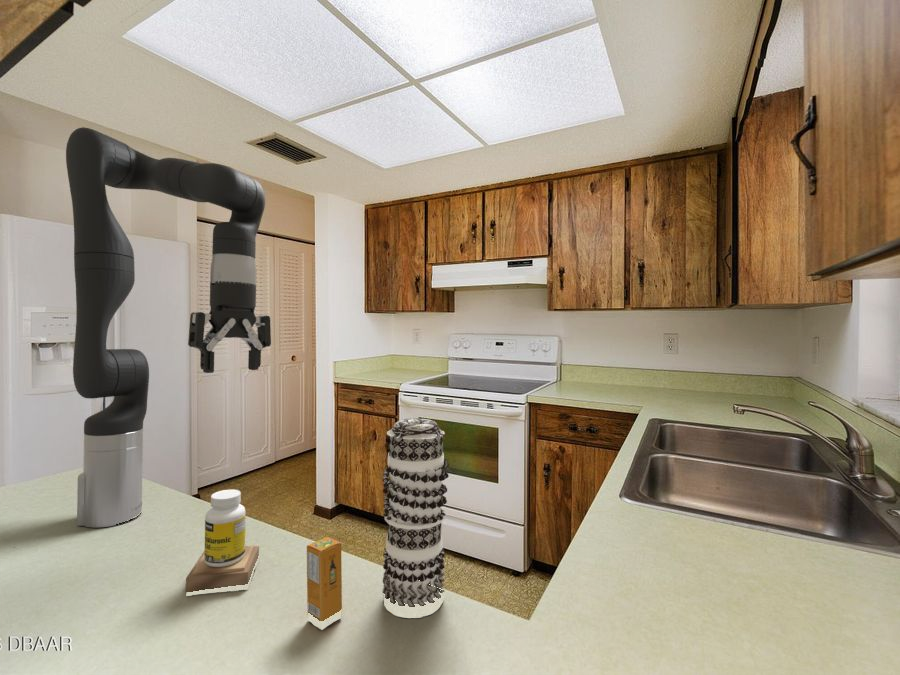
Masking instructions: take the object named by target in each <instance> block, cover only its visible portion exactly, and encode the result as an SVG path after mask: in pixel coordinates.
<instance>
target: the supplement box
mask: <svg viewBox="0 0 900 675" xmlns="http://www.w3.org/2000/svg"><path fill="white" fill-rule="evenodd" d="M342 570H343V568H342V542H340V541H338V540H336V539H333V538H330V537H328V536H325V537H324V538H321V539H318V540H316V541H314V542H312V543H310V544H307V545H306V590H307V592H306V594H307V596H306V597H307V599H306V600H307V603H306V604H307V614H308V613H310V614H311V615H313V617H315V618H317V619H318V620H319V621H324V620H325V619H327V618H329V617H330V616H332V615H334V614H335V613H337V612H339V611H340V610H341V609H342V610H343V604H342V603H343V599H342V598H343V594H342V588H343V586H342V585H343V584H342V583H343V581H342V580H343V579H342V577H343V576H342Z"/></svg>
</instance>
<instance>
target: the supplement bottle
mask: <svg viewBox="0 0 900 675" xmlns="http://www.w3.org/2000/svg"><path fill="white" fill-rule="evenodd" d="M241 500H242V494H241V491H240V490H239V489H224V490H219V491H217V492H214V493H212V494H211V496H210V506H211V507H210V509H208V511H207V512H206V513H205V515H204V516H205V517H204V518H205V519H204V551H205V563H206V564H207V565H208V566H212V567H224V566H229V565H232V564H234V563H236V562H238V561H239V560H241V559H242V558H243V556H244V554H245V546H246V515H247V514H246V507H245V506H244V505H242V504H241Z"/></svg>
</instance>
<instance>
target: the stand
mask: <svg viewBox="0 0 900 675" xmlns="http://www.w3.org/2000/svg"><path fill="white" fill-rule="evenodd" d="M258 556H259V557H260V545H245V554H244V556H243V558H242V559H241V560H239V561H238V562H236V563H234V564H232V565H229V566H224V567H212V566H208V565H207V564H206V563H205V550H203V552H202V553H201V555H200V557H199V558H198V560H197V561H196V562H195V563H194V566H193V567H192V569H191V570H190V572H188V574H187V576H186V577H185V593H186V592H193V591H199V590H205V589H214V588H221V587H228V586H236V585H245V584H248V582H249V580H250V577H251V574H252V571H253V568H254V566H255V563H256V561H257V559H258Z"/></svg>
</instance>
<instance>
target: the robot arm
mask: <svg viewBox="0 0 900 675" xmlns="http://www.w3.org/2000/svg"><path fill="white" fill-rule="evenodd" d="M65 165H66V170H67V171H66V172H67V178H68V182H69V184H68V185H69V191H70V197H71V205H72V215H73V237H74V238H73V242H74V243H73V244H74V245H73V249H74V251H73V261H74V264H73V265H74V266H73V267H74V279H75V280H74V281H75V299H76V300H75V302H76V304H75V305H76V306H75V307H76V314H75V315H76V317H75V318H76V320H75V321H76V322H75V333H74V346H73V361H72V376H73V383H74V387H75V389H76V392H77V393H78V394H79V395H80V396H81V397H82V398H84V399H88V400H89V399H101V398H102V399H103V398H112V397H113V399H112V402H110V404H109V405H108V406H107V407H105V408H103V409H102V410H100V411H98V412H96V413H94V414H92V415H90V416H88V417H87V418H86V419H85V420H84V423H83V471H82V473H79V474H78V475H77V491H76V492H77V494H76V495H77V497H76V498H77V501H76V502H77V503H76V504H77V505H76V506H77V507H76V508H77V509H76V527H81V526H82V527H87V528H106V527H113V526H117V525H116V524H118V525H120V524H119V523H122V522H124V521H127V520H129V519H131V518H133V517H135V516H137V515H138V514H139V513H140V512H141V510H143V464H144V463H143V458H144V457H143V456H144V455H143V454H144V453H143V450H144V449H143V448H144V442H143V441H144V419H145V417H146V414H147V408H148V396H149V387H150V386H149V384H150V367H149V366H150V365H149V362H148V358H147V357H146V356H145V354H144V352H142V351H140V350H138V349H134V348H117V349H116V348H112V349H108V348H107V338H108V330H109V327H110V323H111V321H112V320H113V318H114V315H115V314H116V312H117V311H118V310H119V309H120V307H121V306H122V305H123V303H124V302H125V301H126V299H127V298H128V296H130V293H131V292H132V290H133V287H134V285H135V282H136V281H135V280H136V278H135V255H134V250H133V246H132V244H131V242H130V239H129V238H128V237H127V234H126V233H125V231H124V230H123V228H122V226H121V225H120V223H119V221H118V220H117V218H116V216H115V215H114V213H113V210H112V209H111V207H110V203H109V201H108V195H107V189H106V186H108V187H110V188H114V189H119V190H120V189H123V190H148V191H155V192H160V193H163V194H167V195H169V196H173V197H177V198H180V199H185V200H186V201H187V200H188V201H192V202H197V203H209V204H212V205H216V206H218V207H221V208H223V209H226V210H228V211H231V215H230V218H229V221H221V222H219V223H215V225H214V227H213V229H212V247H211V248H212V249H211V250H212V253H211V254H212V256H211V262H210V269H209V270H210V271H209V272H210V274H209V276H210V277H209V307H210V310H209V313H204V312H203V311H194V312H191V313H190V317H189V318H190V319H189V329H188V331H189V332H188V339H187V340H188V343H187V345H188V347H190V348H194V349H197V350H199V352H200V356H199V357H200V363H199V365H200V366H199V367H200V370H202V371H203V373H205V374H214V373H215V372H214V371H215V351H213V350H214V348H215V347H216V346H217V344H218V343H220V342H221V341H223V339H224V338H225V339H226V338H227V339H232V338H236V339H237V338H239V339H241V340H242V341H243V342H245V344H246V345H247V346H248V348H249V350H248V358H247V360H248V365H247V366H248V370H251V371H258V370H259V368H260V367H261V364H262V363H261V361H262V360H261V359H262V350H263V349H265V348H266V347H270V346H271V345H272V333H271V331H272V329H271V316H270V315H258V316H256V314H255V310H256V306H257V265H256V263H257V262H256V245H257V244H256V241H257V240H256V238H257V233H258V232H259V229H260V226H261V222H262V218H263V215H264V211H265V207H266V196H265V191H264V189H263V186H262V185H261V183H260V182H259V181H258V180H256V179H255V178H253V177H251V176H249V175H248V174H245V173H243V172H241V171H239V170H237V169H235V168H234V167H233V168H232V167H231V166H228V165H224V164H222V163H221V164H220V163H215V162H214V163H213V162H212V163H211V162H209V163H208V162H207V163H206V162H205V163H200V162H197V161H193V160H187V159H183V158H176V157H164V158H160V159H157V158H153V157H152V156H149V155H146V154H145V153H143V152H140V151H138V150H136V149H134V148H133V147H131V146H129V145H128V144H127V143H125V142H122V141H120V140H118V139H116V138H115V137H114V138H113V137H111V136H109V135H107V134H104V133H102V132H100V131H98V130H95V129H93V128H89V127H78V128H75V130H73V131H72V132H71V134H70V135H69V136H68V140H67V142H66V148H65ZM208 322H209V324H210V325H211V328H210V329H209V331H207V333H206V334H205V326H206V325H207V323H208ZM254 325H255V326H256V331H257V332H256V331H255V330H254V328H253V326H254ZM204 334H205V335H204ZM122 524H123V523H122Z"/></svg>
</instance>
